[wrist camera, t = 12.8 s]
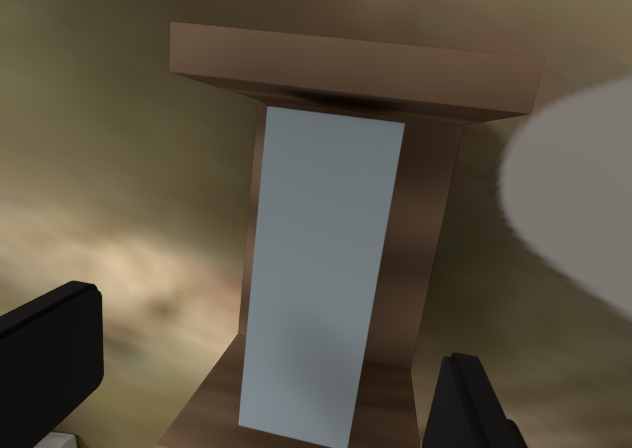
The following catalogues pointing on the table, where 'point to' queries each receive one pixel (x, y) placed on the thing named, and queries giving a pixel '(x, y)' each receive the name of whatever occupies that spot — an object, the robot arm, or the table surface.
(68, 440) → the supplement box
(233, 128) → the table surface
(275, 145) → the grey rectangular block
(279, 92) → the peg frame
